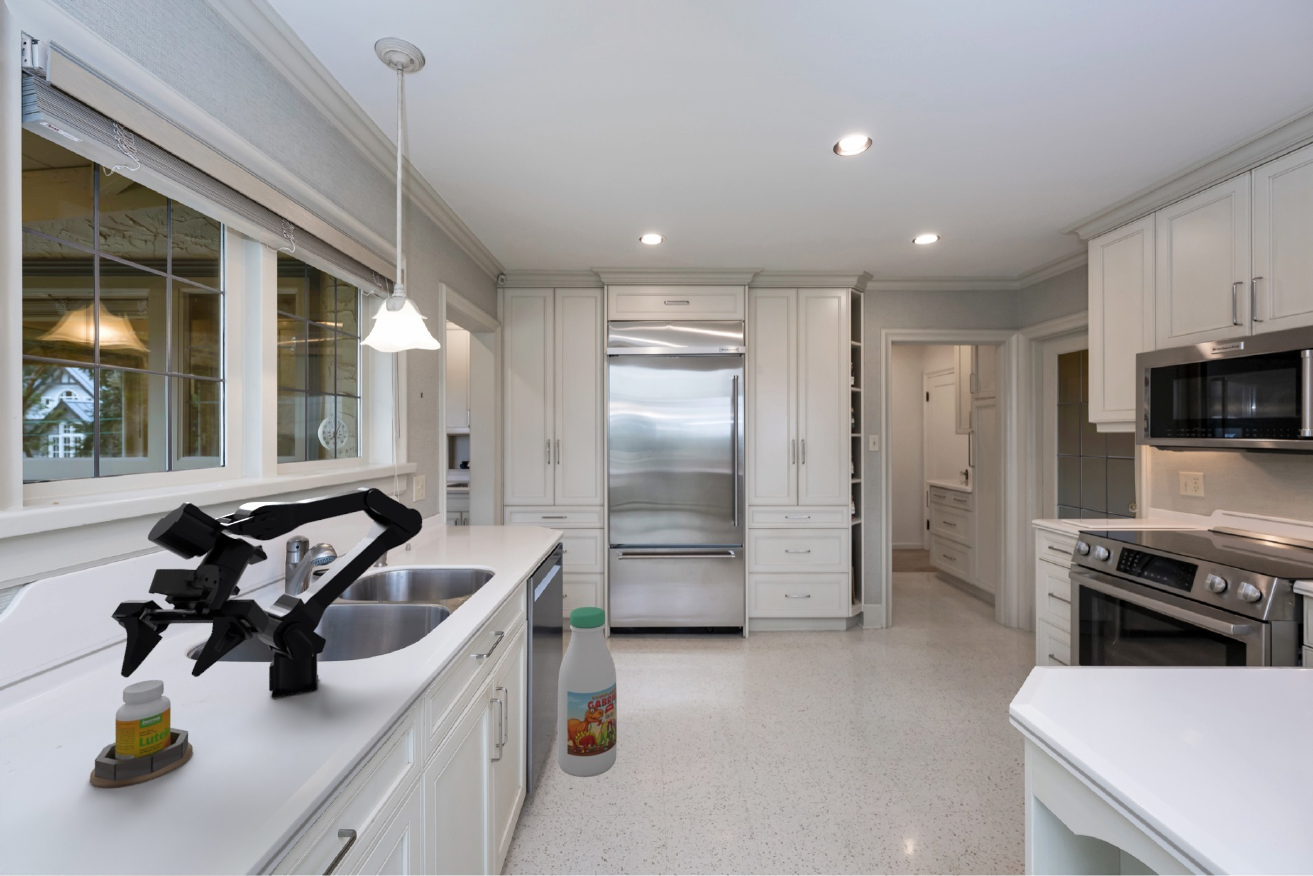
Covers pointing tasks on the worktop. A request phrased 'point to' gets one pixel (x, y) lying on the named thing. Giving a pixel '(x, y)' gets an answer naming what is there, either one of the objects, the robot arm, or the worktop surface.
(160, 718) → the supplement bottle
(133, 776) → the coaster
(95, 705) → the worktop surface
